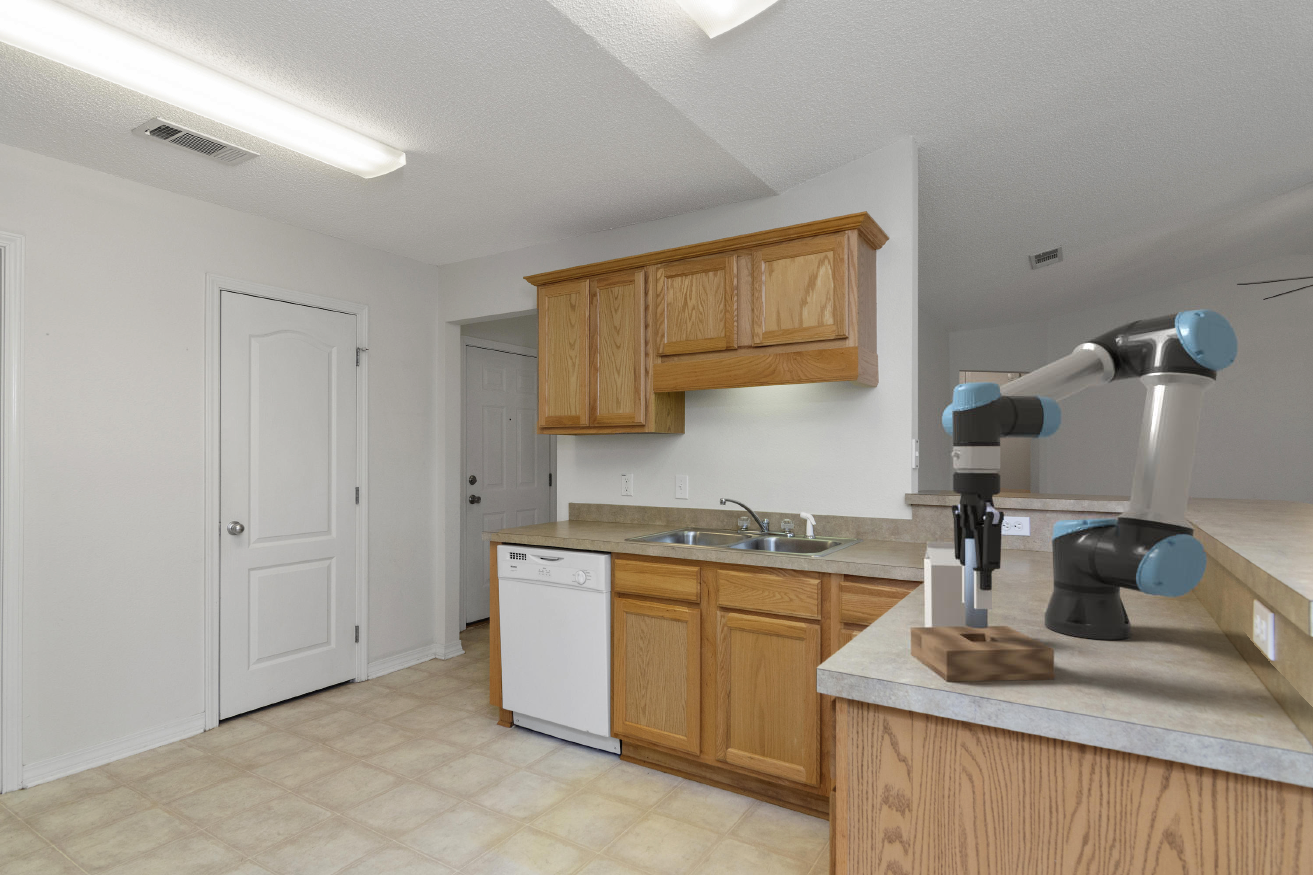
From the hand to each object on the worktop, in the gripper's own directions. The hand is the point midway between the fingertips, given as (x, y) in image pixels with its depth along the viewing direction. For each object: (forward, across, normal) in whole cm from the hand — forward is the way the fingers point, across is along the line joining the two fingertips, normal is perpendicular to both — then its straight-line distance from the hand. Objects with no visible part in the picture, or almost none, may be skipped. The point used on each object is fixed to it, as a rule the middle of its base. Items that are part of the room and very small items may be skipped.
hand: (976, 605), depth 117 cm
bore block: (+11, 0, 0) cm, 11 cm away
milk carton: (+11, -18, +3) cm, 21 cm away
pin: (+4, 0, 0) cm, 4 cm away
